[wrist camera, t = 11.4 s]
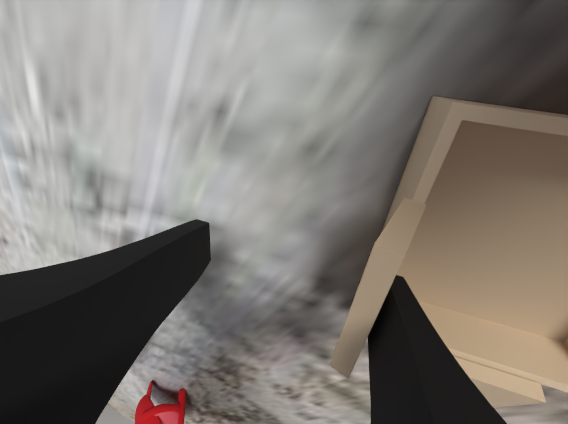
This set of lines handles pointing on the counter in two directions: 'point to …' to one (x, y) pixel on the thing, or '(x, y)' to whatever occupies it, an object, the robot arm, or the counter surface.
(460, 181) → the carton
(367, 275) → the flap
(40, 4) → the counter surface
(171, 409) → the cap
